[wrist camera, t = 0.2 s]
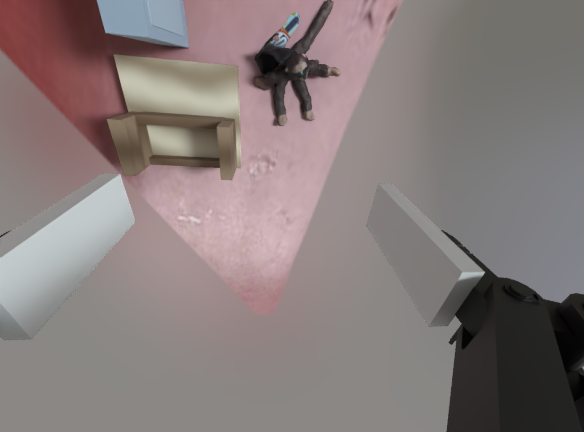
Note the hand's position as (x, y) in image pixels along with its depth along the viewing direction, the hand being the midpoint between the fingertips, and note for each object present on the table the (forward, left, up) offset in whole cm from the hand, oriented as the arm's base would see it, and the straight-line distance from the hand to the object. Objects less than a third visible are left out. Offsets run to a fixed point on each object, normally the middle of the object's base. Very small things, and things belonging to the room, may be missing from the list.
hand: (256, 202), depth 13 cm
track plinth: (+1, -11, -27) cm, 30 cm away
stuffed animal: (-7, +4, -28) cm, 29 cm away
